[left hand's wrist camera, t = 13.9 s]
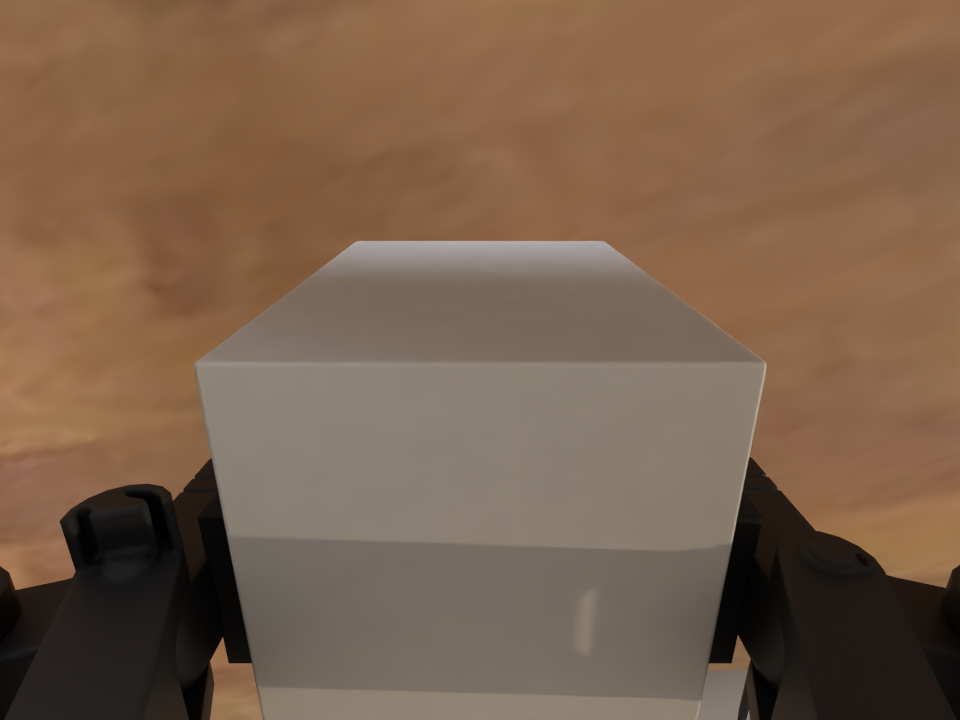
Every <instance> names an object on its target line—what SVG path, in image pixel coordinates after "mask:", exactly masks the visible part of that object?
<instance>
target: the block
mask: <svg viewBox="0 0 960 720" xmlns="http://www.w3.org/2000/svg"><path fill="white" fill-rule="evenodd" d="M766 369H767V367H766V362H765V361H763V360H762V359H761V358H759V357H758V356H757V355H755V354H754V353H753V352H751V351H750V350H749V349H747V348H746V347H745V346H743V345H742V344H741V343H739V342H738V341H737V340H735V339H734V338H733V337H731V336H730V335H729V334H727V333H726V332H725V331H723V330H722V329H721V328H719V327H718V326H717V325H715V324H714V323H713V322H711V321H710V320H709V319H707V318H706V317H705V316H703V315H702V314H701V313H699V312H698V311H697V310H695V309H694V308H692V307H691V306H690V305H688V304H687V303H686V302H684V301H683V300H682V299H680V298H679V297H678V296H676V295H675V294H674V293H672V292H671V291H670V290H668V289H667V288H666V287H664V286H663V285H662V284H660V283H659V282H658V281H656V280H655V279H654V278H652V277H651V276H650V275H648V274H647V273H646V272H644V271H643V270H642V269H640V268H639V267H638V266H636V265H635V264H634V263H632V262H631V261H630V260H628V259H627V258H626V257H624V256H623V255H622V254H620V253H619V252H618V251H616V250H615V249H614V248H612V247H611V246H610V245H608V244H607V243H606V242H604V241H356V242H355V243H353V244H352V245H351V246H349V247H348V248H347V249H345V250H344V251H343V252H341V253H340V254H339V255H337V256H336V257H335V258H333V259H332V260H331V261H329V262H328V263H327V264H325V265H324V266H323V267H321V268H320V269H319V270H317V271H316V272H315V273H313V274H312V275H311V276H309V277H308V278H307V279H305V280H304V281H303V282H301V283H300V284H299V285H297V286H296V287H295V288H293V289H292V290H291V291H289V292H288V293H287V294H285V295H284V296H283V297H281V298H280V299H279V300H277V301H276V302H275V303H273V304H272V305H271V306H269V307H268V308H267V309H265V310H264V311H263V312H261V313H260V314H259V315H257V316H256V317H255V318H253V319H252V320H251V321H249V322H248V323H247V324H245V325H244V326H243V327H241V328H240V329H239V330H237V331H236V332H235V333H233V334H232V335H231V336H229V337H228V338H227V339H225V340H224V341H223V342H221V343H220V344H219V345H217V346H216V347H215V348H213V349H212V350H211V351H209V352H208V353H207V354H205V355H204V356H203V357H201V358H200V359H199V360H197V361H196V362H195V365H194V370H195V375H196V380H197V385H198V390H199V396H200V401H201V406H202V411H203V416H204V421H205V426H206V431H207V436H208V441H209V447H210V452H211V457H212V462H213V467H214V472H215V477H216V482H217V487H218V492H219V497H220V503H221V508H222V513H223V518H224V523H225V528H226V533H227V538H228V543H229V548H230V554H231V559H232V564H233V569H234V574H235V579H236V584H237V589H238V594H239V599H240V604H241V610H242V615H243V620H244V625H245V630H246V635H247V640H248V645H249V650H250V655H251V661H252V666H253V671H254V676H255V681H256V686H257V691H258V696H259V701H260V706H261V711H262V717H263V720H697V719H698V714H699V709H700V704H701V699H702V694H703V689H704V683H705V679H706V674H707V669H708V663H709V658H710V653H711V648H712V643H713V638H714V633H715V628H716V623H717V618H718V613H719V608H720V602H721V597H722V592H723V587H724V582H725V577H726V572H727V567H728V562H729V557H730V552H731V547H732V541H733V536H734V531H735V526H736V521H737V516H738V511H739V506H740V501H741V496H742V491H743V486H744V480H745V475H746V470H747V465H748V460H749V455H750V450H751V445H752V440H753V435H754V430H755V425H756V419H757V414H758V409H759V404H760V399H761V394H762V389H763V384H764V379H765V374H766Z"/></svg>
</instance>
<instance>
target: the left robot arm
mask: <svg viewBox="0 0 960 720" xmlns="http://www.w3.org/2000/svg"><path fill="white" fill-rule="evenodd" d="M60 524H61V527H62V530H63V533H64V536H65V539H66V542H67V545H68V548H69V552H70V555H71V558H72V561H73V564H74V567H75V570H76V572H75V574H74V576H73V578H71V579H67V580H63V581H58V582H53V583H48V584H44V585H39V586H34V587H29V588H25V589H20V590H15V587H14V585H13V582H12V580H11V577H10V574H9V572H7V571H6V570H5V569H3V568H2V567H0V720H210V714H211V706H212V698H213V690H214V680H213V673H212V668H211V664H210V660H211V658H212V656H213V654H214V652H215V650H216V648H217V647H218V645H219V643H220V641H221V639H222V637H223V638H224V643H225V647H226V652H227V657H228V661H229V663H252V661H251V655H250V650H249V645H248V640H247V635H246V630H245V625H244V620H243V615H242V610H241V604H240V599H239V594H238V589H237V584H236V579H235V574H234V569H233V564H232V559H231V554H230V548H229V543H228V538H227V533H226V528H225V523H224V518H223V513H222V508H221V503H220V497H219V492H218V487H217V482H216V477H215V472H214V467H213V462H212V458H211V459H210V460H208V462H207V463H206V464H205V465H204V466H203V467H202V468H201V470H200V471H199V472H198V473H197V474H196V475H195V479H192V480H191V481H190V482H189V483H188V485H187V486H186V487H185V488H184V491H183V492H181V493H180V494H179V495H178V496H177V497H176V498H175V500H174V501H173V500H172V496H171V493H170V492H169V491H168V490H166V489H165V488H164V487H162V486H157V485H151V484H138V485H127V486H123V487H119V488H115V489H111V490H107V491H105V492H102V493H100V494H97V495H95V496H93V497H90V498H88V499H86V500H85V501H83V502H81V503H80V504H78V505H77V506H75V507H73V508H72V509H70V510H69V512H68V513H67V514H66V515H65V516H64V517H63V518H62V519H61V520H60ZM737 635H739V637H740V639H741V641H742V643H743V645H744V647H745V649H746V650H747V652H748V654H749V656H750V658H751V660H750V664H749V668H748V672H747V677H746V681H745V685H744V690H743V694H742V698H741V703H740V707H739V714H738V720H746V718H747V714H748V710H749V713H750V720H960V565H959V566H958V567H956V568H955V569H953V570H952V573H951V576H950V578H949V581H948V584H947V586H946V588H943V587H938V586H934V585H929V584H924V583H919V582H914V581H910V580H905V579H900V578H895V577H892V576H888V575H886V573H885V571H884V570H883V568H882V567H881V566H880V565H879V563H878V562H877V561H876V559H875V558H874V557H872V556H871V555H870V554H868V553H867V552H866V551H864V550H863V549H862V548H860V547H859V546H857V545H855V544H853V543H851V542H849V541H846V540H844V539H842V538H840V537H837V536H834V535H830V534H827V533H823V532H819V531H815V530H814V528H813V527H812V526H811V525H810V524H809V523H808V522H807V520H806V519H805V518H804V517H803V516H802V515H801V514H800V512H799V511H798V510H797V509H796V508H795V507H794V506H793V504H792V503H791V502H790V501H789V500H788V499H787V498H786V496H785V495H784V494H783V493H782V492H781V491H778V490H777V486H776V485H775V484H774V483H773V482H772V481H771V479H770V478H769V477H766V474H765V473H764V471H763V470H762V469H761V468H760V467H759V466H758V465H757V463H756V462H755V461H754V460H753V459H752V458H751V457H749V460H748V465H747V470H746V475H745V480H744V486H743V491H742V496H741V501H740V506H739V511H738V516H737V521H736V526H735V531H734V536H733V541H732V547H731V552H730V557H729V562H728V567H727V572H726V577H725V582H724V587H723V592H722V597H721V602H720V608H719V613H718V618H717V623H716V628H715V633H714V638H713V643H712V648H711V653H710V658H709V663H732V659H733V654H734V649H735V645H736V640H737Z"/></svg>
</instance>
